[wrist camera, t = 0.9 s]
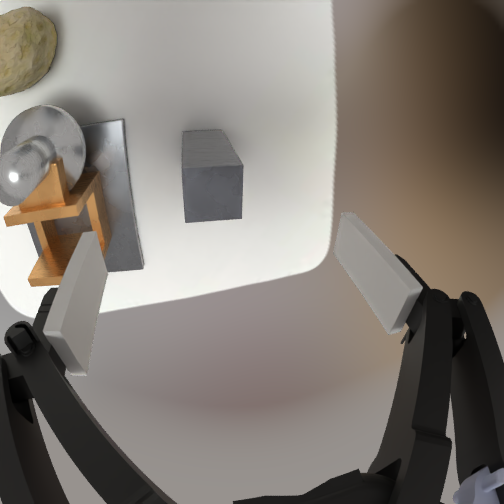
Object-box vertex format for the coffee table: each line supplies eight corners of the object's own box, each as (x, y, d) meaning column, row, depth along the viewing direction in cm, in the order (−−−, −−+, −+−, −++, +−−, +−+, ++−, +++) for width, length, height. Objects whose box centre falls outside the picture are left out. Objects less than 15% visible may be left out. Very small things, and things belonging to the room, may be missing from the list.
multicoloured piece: (8, 113, 21) (-59, 146, 11) (121, 85, 23) (83, 97, 14) (49, 272, 33) (21, 340, 23) (143, 264, 36) (136, 339, 26)
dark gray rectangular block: (182, 131, 28) (181, 168, 18) (221, 129, 28) (243, 165, 19) (184, 168, 30) (185, 222, 20) (221, 165, 31) (241, 218, 21)
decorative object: (16, 91, 22) (8, 133, 19) (-33, 49, 13) (-60, 84, 9) (72, 36, 21) (77, 62, 18) (27, -15, 12) (13, -5, 9)
